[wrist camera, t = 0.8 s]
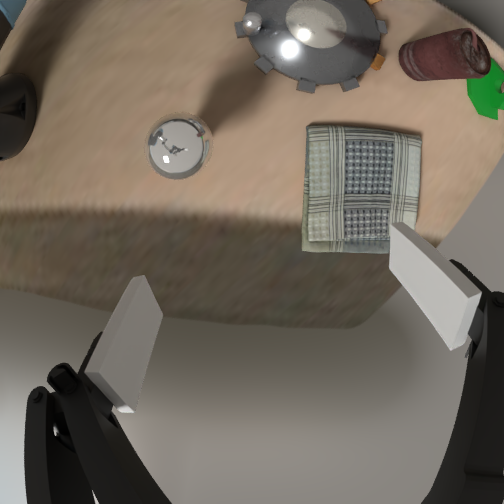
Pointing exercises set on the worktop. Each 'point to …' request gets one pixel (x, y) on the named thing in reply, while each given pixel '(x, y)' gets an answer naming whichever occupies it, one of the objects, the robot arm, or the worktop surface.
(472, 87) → the bracket
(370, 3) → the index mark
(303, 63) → the sprocket
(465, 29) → the can
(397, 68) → the worktop surface
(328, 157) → the dish towel
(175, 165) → the light bulb
